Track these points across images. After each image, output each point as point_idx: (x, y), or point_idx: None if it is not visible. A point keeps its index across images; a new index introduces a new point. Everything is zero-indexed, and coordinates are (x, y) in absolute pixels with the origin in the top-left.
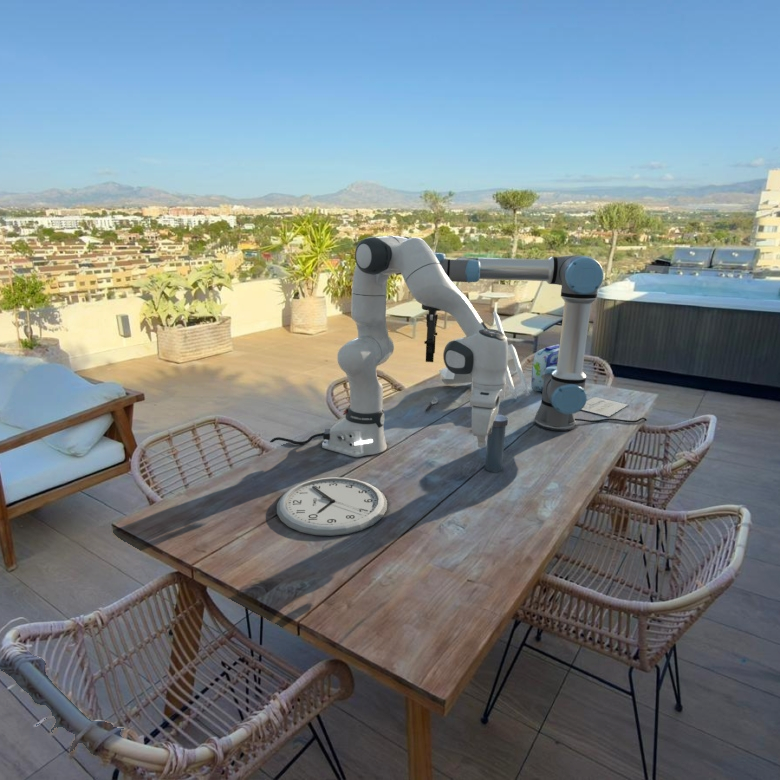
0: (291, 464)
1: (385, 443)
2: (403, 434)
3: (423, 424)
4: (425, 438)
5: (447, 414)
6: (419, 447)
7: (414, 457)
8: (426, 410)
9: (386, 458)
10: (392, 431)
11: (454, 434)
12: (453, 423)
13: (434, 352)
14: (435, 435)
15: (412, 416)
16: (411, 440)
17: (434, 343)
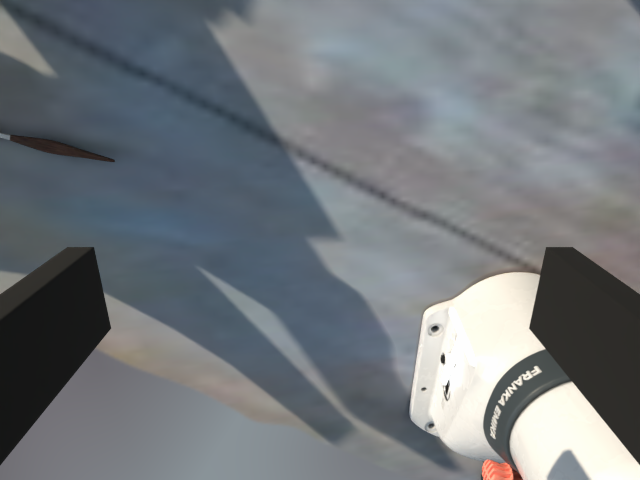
0: None
1: (528, 283)
2: (387, 229)
3: (267, 161)
4: (420, 144)
5: (108, 53)
6: (510, 161)
7: (599, 173)
8: (108, 158)
9: (599, 262)
10: (362, 269)
11: (363, 15)
12: (224, 20)
13: (88, 255)
14: (384, 103)
15: (184, 211)
16: (443, 196)
17: (4, 329)
